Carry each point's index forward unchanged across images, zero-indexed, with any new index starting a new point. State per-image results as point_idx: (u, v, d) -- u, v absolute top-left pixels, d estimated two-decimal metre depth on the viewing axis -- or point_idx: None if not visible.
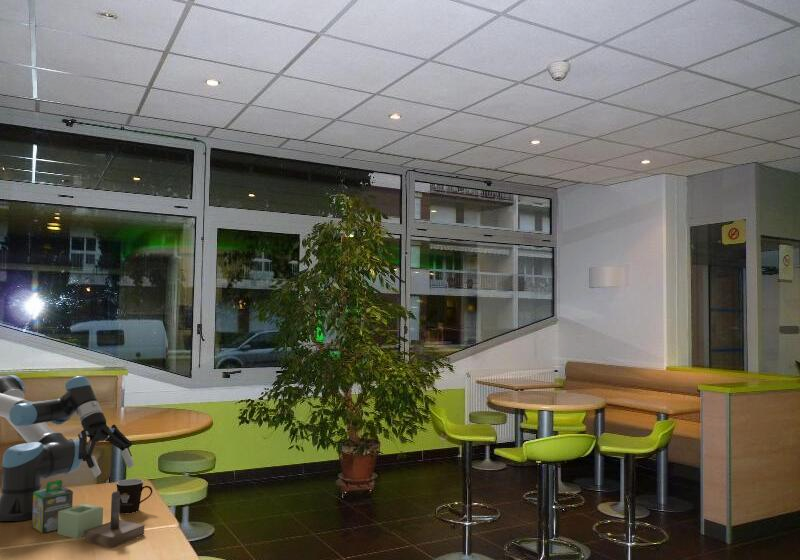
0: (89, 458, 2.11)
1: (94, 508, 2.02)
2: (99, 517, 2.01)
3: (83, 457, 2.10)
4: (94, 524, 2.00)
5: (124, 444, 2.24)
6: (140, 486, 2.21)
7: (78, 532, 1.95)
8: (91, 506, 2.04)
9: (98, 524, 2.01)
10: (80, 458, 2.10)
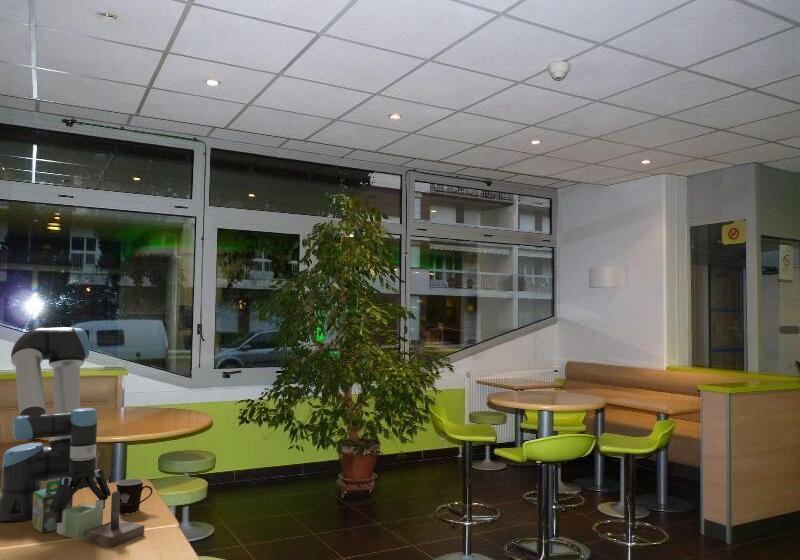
0: (59, 513, 1.93)
1: (94, 508, 2.02)
2: (99, 517, 2.01)
3: (54, 511, 1.92)
4: (94, 524, 2.00)
5: (102, 495, 2.06)
6: (140, 486, 2.21)
7: (78, 532, 1.95)
8: (91, 506, 2.04)
9: (98, 524, 2.01)
10: (51, 510, 1.92)
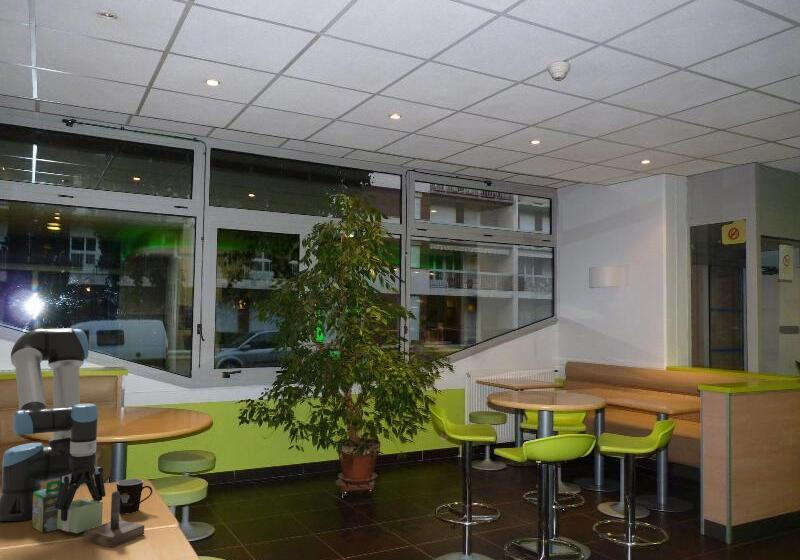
0: (65, 511, 1.95)
1: (94, 503, 2.02)
2: (99, 512, 2.02)
3: None
4: (94, 519, 2.00)
5: (97, 495, 2.05)
6: (140, 486, 2.21)
7: (78, 527, 1.95)
8: (91, 501, 2.04)
9: (98, 519, 2.01)
10: (56, 508, 1.94)
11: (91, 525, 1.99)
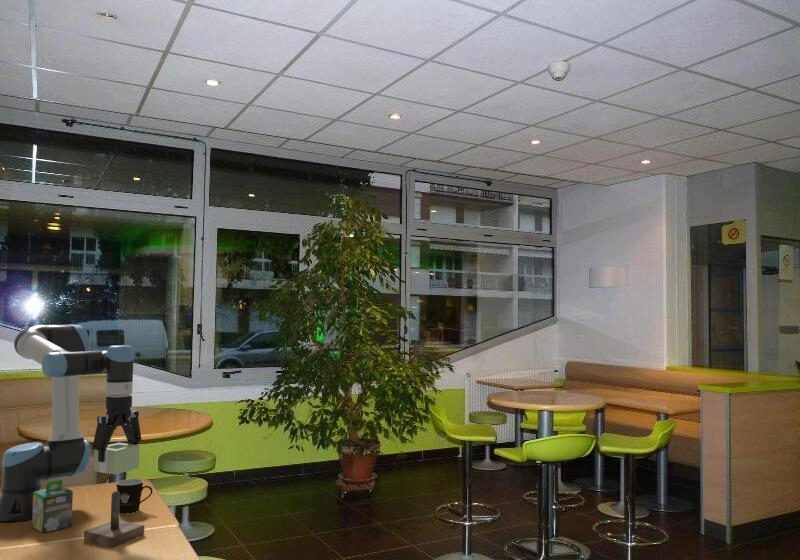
0: (102, 452, 1.91)
1: (130, 446, 1.98)
2: (136, 455, 1.97)
3: None
4: (131, 461, 1.96)
5: (133, 439, 2.01)
6: (140, 486, 2.21)
7: (115, 468, 1.91)
8: (127, 444, 2.00)
9: (135, 462, 1.97)
10: (94, 449, 1.90)
11: (128, 467, 1.95)
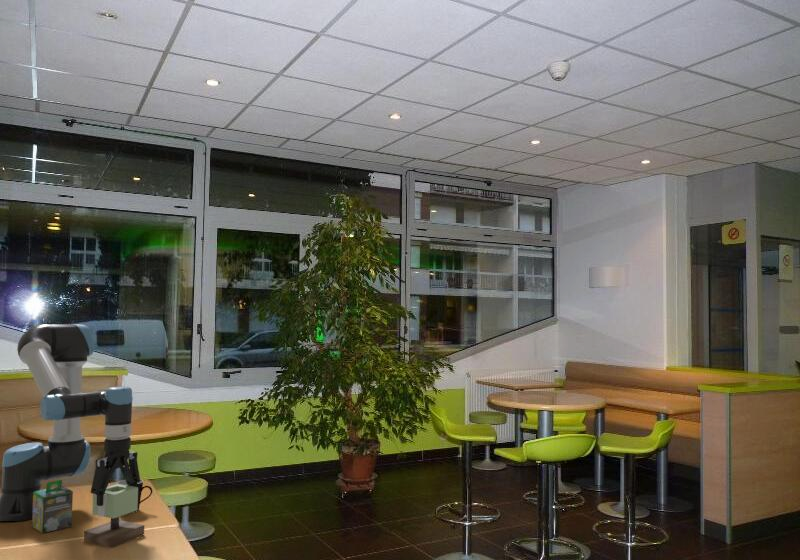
0: (101, 496, 1.90)
1: (129, 488, 1.97)
2: (134, 497, 1.97)
3: None
4: (129, 504, 1.95)
5: (132, 480, 2.00)
6: (140, 486, 2.21)
7: (114, 512, 1.90)
8: (126, 486, 1.99)
9: (133, 504, 1.96)
10: None
11: (127, 510, 1.94)
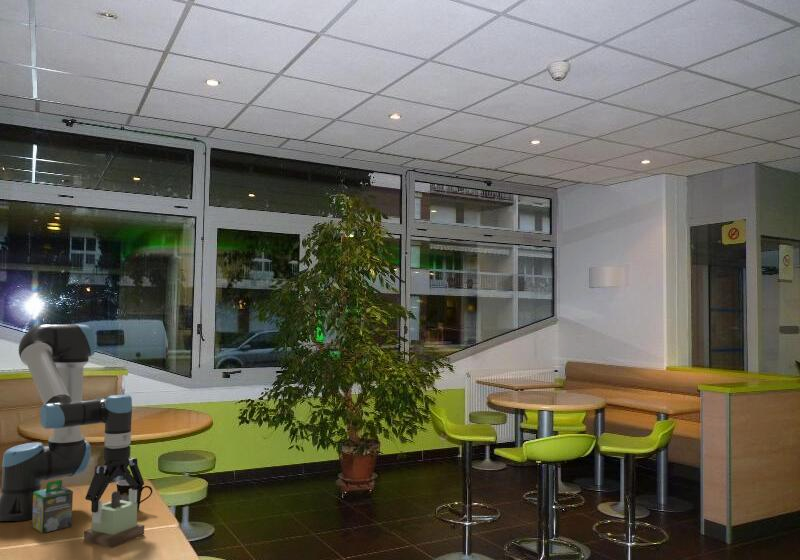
0: (96, 502, 1.88)
1: (128, 504, 1.97)
2: (133, 513, 1.96)
3: (90, 500, 1.87)
4: (129, 520, 1.95)
5: (136, 484, 2.01)
6: None
7: (113, 528, 1.90)
8: (125, 502, 1.99)
9: (133, 520, 1.96)
10: (87, 499, 1.87)
11: (126, 526, 1.94)
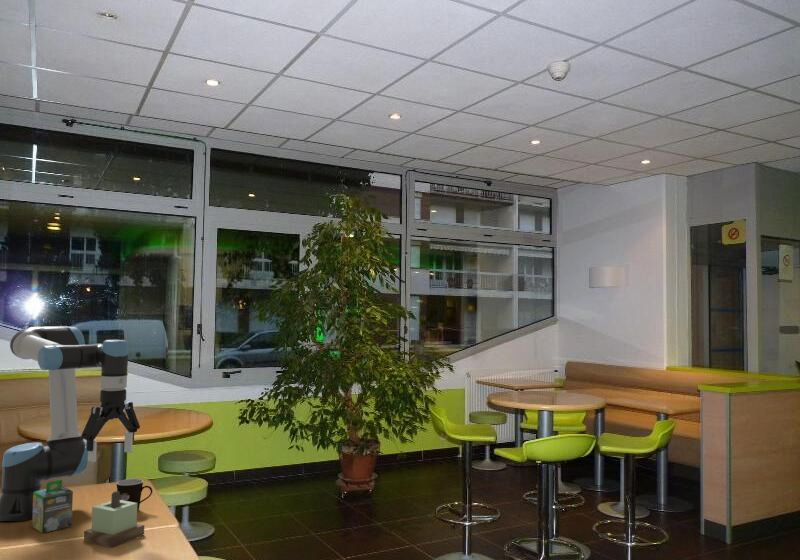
0: (91, 441, 1.93)
1: (128, 504, 1.97)
2: (133, 513, 1.96)
3: None
4: (129, 520, 1.95)
5: (132, 427, 2.06)
6: (140, 486, 2.21)
7: (113, 528, 1.90)
8: (125, 502, 1.99)
9: (133, 520, 1.96)
10: (82, 438, 1.91)
11: (126, 526, 1.94)
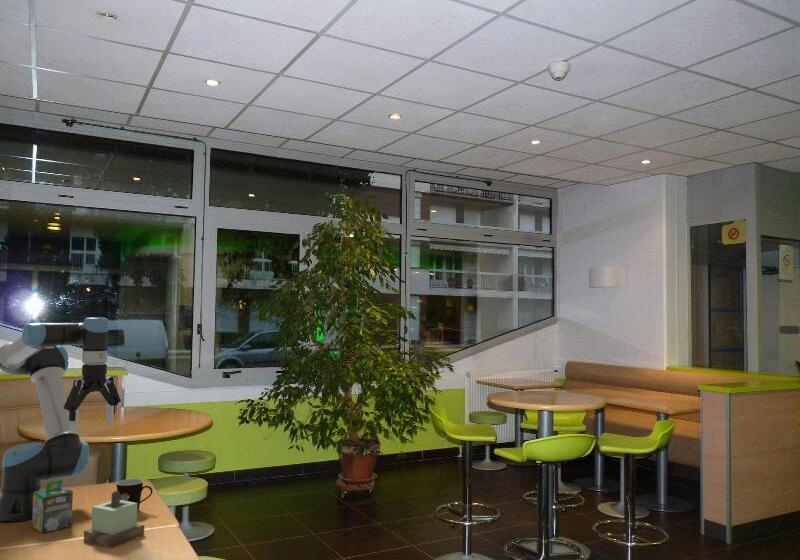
0: (73, 412, 2.04)
1: (128, 504, 1.97)
2: (133, 513, 1.96)
3: (68, 409, 2.03)
4: (129, 520, 1.95)
5: (113, 400, 2.18)
6: (140, 486, 2.21)
7: (113, 528, 1.90)
8: (125, 502, 1.99)
9: (133, 520, 1.96)
10: (65, 409, 2.03)
11: (126, 526, 1.94)
